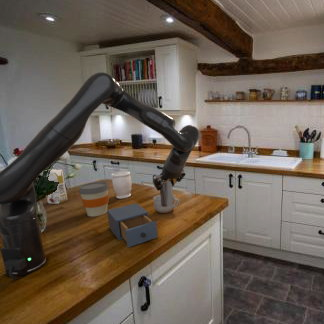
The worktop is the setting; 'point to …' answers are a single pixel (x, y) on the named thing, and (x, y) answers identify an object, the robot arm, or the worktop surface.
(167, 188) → the brushed steel cylinder
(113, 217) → the cabinet
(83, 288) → the worktop surface
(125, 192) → the jar
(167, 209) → the teacup
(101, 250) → the worktop surface
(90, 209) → the reusable coffee cup
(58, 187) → the juice carton
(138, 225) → the drawer
